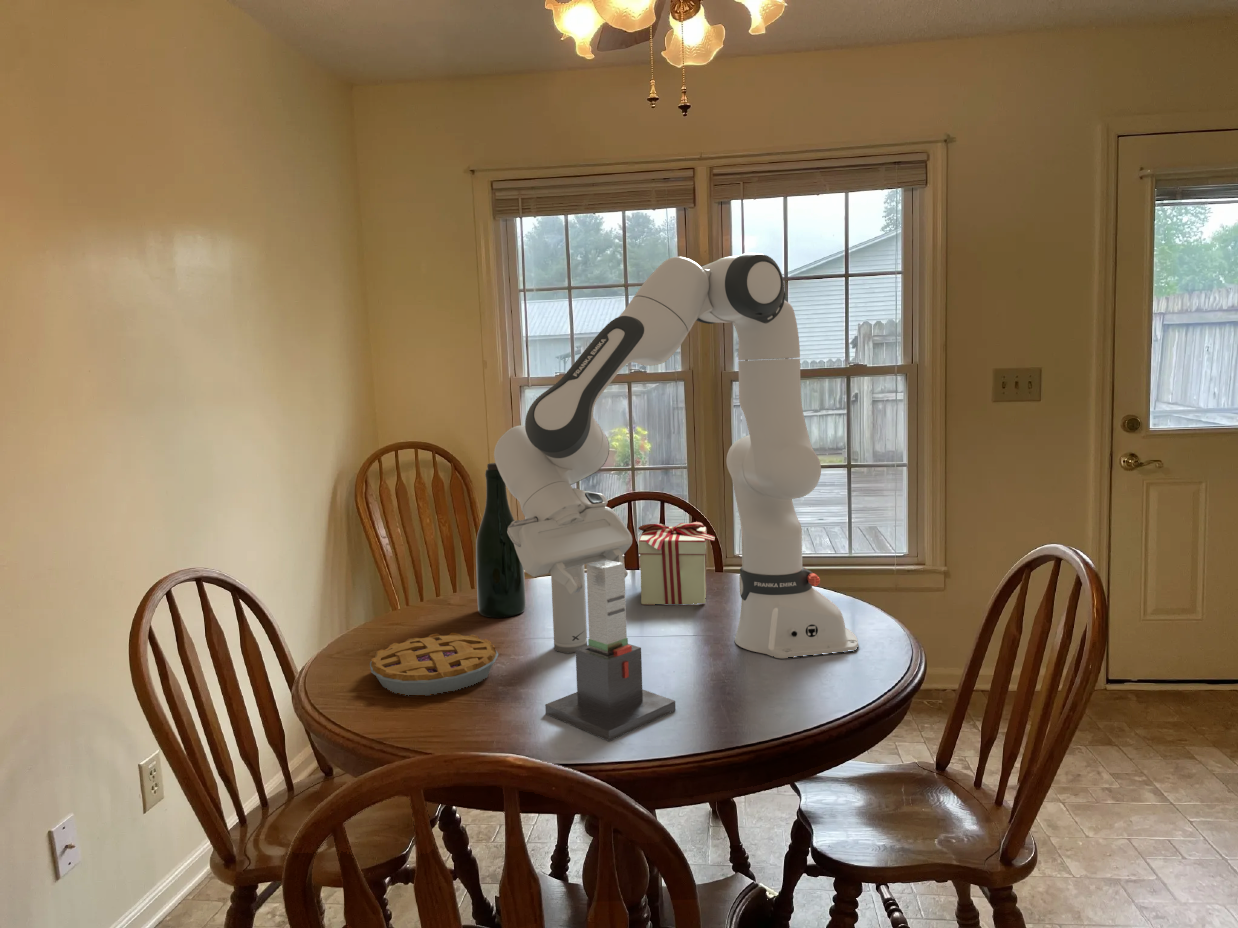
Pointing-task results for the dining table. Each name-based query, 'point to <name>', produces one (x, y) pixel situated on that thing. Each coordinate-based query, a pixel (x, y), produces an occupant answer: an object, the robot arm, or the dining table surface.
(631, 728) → the grey square socket stand
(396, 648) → the pie
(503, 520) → the green wine bottle
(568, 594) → the travel mug
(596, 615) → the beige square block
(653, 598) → the gift box
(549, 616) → the dining table surface
